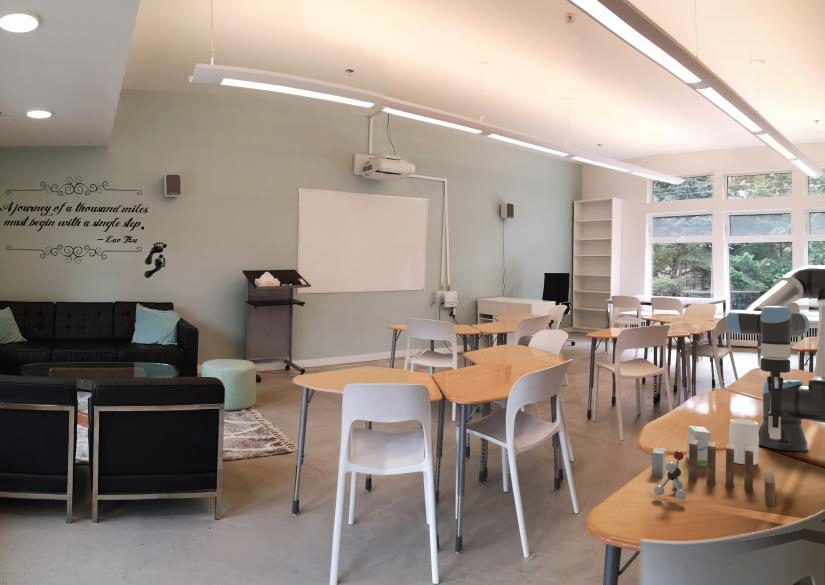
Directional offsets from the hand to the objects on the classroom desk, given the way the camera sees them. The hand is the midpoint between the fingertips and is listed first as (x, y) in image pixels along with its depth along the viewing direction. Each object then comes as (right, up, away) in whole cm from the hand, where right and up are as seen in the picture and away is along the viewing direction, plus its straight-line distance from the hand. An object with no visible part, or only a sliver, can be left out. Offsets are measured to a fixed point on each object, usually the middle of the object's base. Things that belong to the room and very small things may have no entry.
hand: (774, 435), depth 174 cm
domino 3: (-15, -13, -4) cm, 21 cm away
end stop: (-32, -13, +5) cm, 35 cm away
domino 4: (-11, -13, -6) cm, 18 cm away
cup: (0, -14, +16) cm, 21 cm away
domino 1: (-24, -13, +1) cm, 27 cm away
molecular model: (-35, -13, -12) cm, 39 cm away
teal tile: (0, 0, 0) cm, 0 cm away
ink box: (-15, -13, +16) cm, 25 cm away
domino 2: (-19, -13, -1) cm, 24 cm away
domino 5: (-8, -10, -11) cm, 17 cm away
